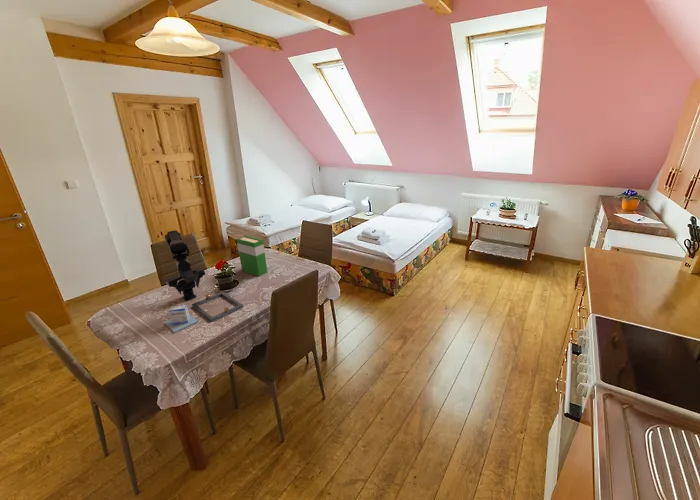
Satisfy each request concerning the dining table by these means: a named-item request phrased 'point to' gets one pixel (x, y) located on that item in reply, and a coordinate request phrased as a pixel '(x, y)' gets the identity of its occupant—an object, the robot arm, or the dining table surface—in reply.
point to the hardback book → (252, 255)
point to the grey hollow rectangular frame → (226, 310)
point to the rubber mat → (181, 326)
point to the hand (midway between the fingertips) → (189, 290)
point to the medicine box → (179, 314)
